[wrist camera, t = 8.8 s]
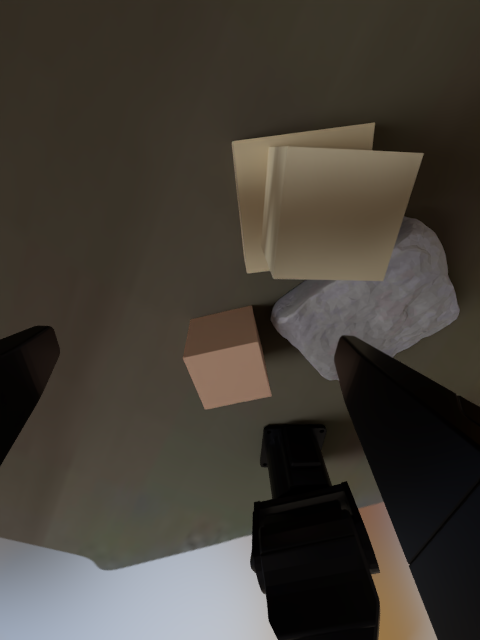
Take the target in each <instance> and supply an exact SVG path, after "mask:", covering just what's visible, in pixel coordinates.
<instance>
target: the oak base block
mask: <svg viewBox="0 0 480 640" xmlns="http://www.w3.org/2000/svg"><path fill="white" fill-rule="evenodd" d="M374 127H375V123H367V124H360V125H352V126H345V127H337V128H329V129H322V130H314V131H307V132H299V133H291V134H284V135H276V136H269V137H261V138H253V139H246V140H238V141H233V142H232V150H233V159H234V168H235V177H236V187H237V196H238V205H239V214H240V224H241V233H242V242H243V251H244V259H245V264H246V270H247V273H255V272H263V271H270V269H269V266H268V263H267V261H266V258H265V256H264V253H263V250H262V248H261V236H262V224H263V211H264V199H265V186H266V174H267V161H268V149H269V147H282V146H291V147H311V148H331V149H351V150H371V151H372V146H373V137H374Z"/></svg>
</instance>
